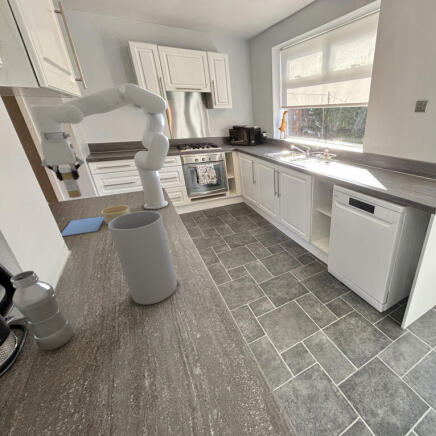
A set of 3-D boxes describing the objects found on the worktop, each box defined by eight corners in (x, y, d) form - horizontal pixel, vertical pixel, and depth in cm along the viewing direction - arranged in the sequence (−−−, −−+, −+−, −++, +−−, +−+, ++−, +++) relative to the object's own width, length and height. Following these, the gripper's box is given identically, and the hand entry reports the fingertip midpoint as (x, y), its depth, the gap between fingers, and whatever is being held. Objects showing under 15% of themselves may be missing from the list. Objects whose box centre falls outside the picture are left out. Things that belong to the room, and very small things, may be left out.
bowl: (107, 218, 125) (103, 207, 123) (133, 214, 130) (130, 204, 127) (102, 226, 116) (98, 215, 113) (130, 222, 120) (127, 211, 118)
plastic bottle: (35, 358, 55) (-9, 289, 47) (48, 335, 60) (11, 270, 52) (70, 348, 57) (34, 281, 49) (80, 327, 63) (49, 263, 55)
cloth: (71, 221, 121) (71, 220, 120) (105, 216, 126) (105, 216, 126) (59, 237, 106) (58, 236, 106) (97, 231, 112) (97, 230, 112)
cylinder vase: (149, 311, 68) (125, 234, 58) (123, 296, 73) (97, 223, 63) (185, 286, 78) (171, 216, 68) (161, 274, 83) (143, 208, 73)
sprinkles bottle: (73, 195, 112) (62, 166, 107) (84, 194, 113) (74, 166, 107) (66, 198, 108) (55, 168, 102) (78, 198, 109) (67, 168, 103)
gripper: (81, 135, 106) (94, 176, 114) (30, 136, 99) (48, 179, 107) (76, 137, 100) (91, 179, 108) (21, 138, 93) (41, 183, 101)
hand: (69, 179), depth 107 cm, fingers closed on sprinkles bottle, 4 cm apart
